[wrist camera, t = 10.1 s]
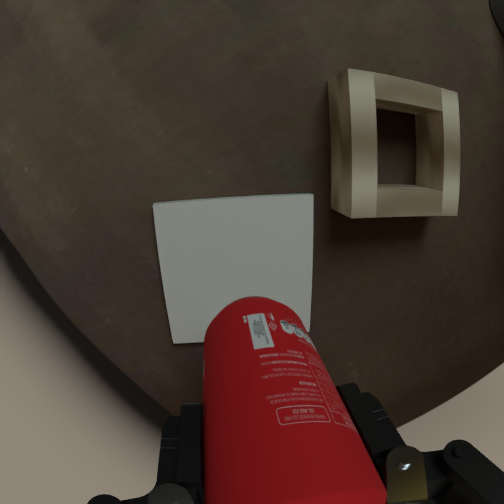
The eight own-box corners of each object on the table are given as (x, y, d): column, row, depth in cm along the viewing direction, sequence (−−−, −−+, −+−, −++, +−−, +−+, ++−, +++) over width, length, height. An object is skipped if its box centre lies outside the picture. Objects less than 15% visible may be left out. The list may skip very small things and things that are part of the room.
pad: (154, 202, 22) (152, 204, 22) (310, 193, 24) (313, 194, 23) (174, 338, 26) (173, 343, 25) (306, 326, 27) (309, 331, 26)
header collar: (327, 80, 21) (347, 68, 17) (429, 97, 22) (457, 92, 18) (330, 208, 24) (351, 218, 20) (430, 206, 25) (457, 215, 21)
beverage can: (313, 342, 17) (407, 527, 6) (235, 381, 17) (264, 575, 6) (273, 270, 15) (385, 497, 4) (185, 318, 15) (165, 554, 4)
